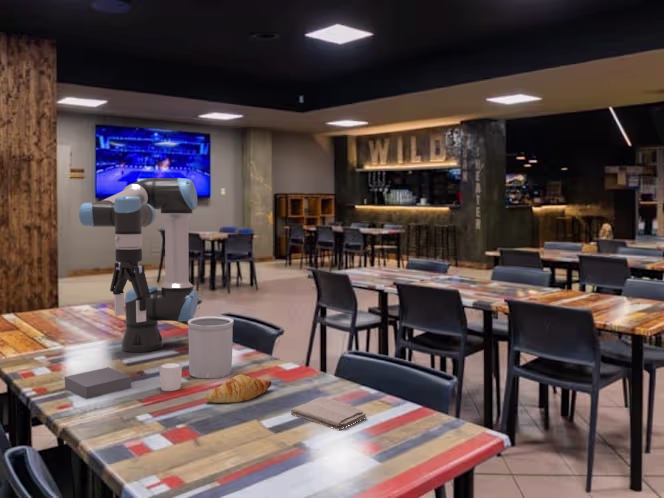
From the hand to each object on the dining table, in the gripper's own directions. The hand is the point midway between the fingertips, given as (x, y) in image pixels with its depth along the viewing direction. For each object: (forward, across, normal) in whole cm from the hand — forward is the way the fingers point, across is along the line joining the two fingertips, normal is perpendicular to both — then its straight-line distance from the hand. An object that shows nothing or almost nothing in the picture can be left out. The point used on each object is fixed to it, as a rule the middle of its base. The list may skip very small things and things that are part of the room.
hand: (130, 318), depth 181 cm
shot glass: (+22, +9, +8) cm, 25 cm away
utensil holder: (+21, +4, +26) cm, 34 cm away
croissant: (+22, +30, +18) cm, 41 cm away
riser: (+22, -7, -7) cm, 24 cm away
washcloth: (+22, +59, +26) cm, 68 cm away
